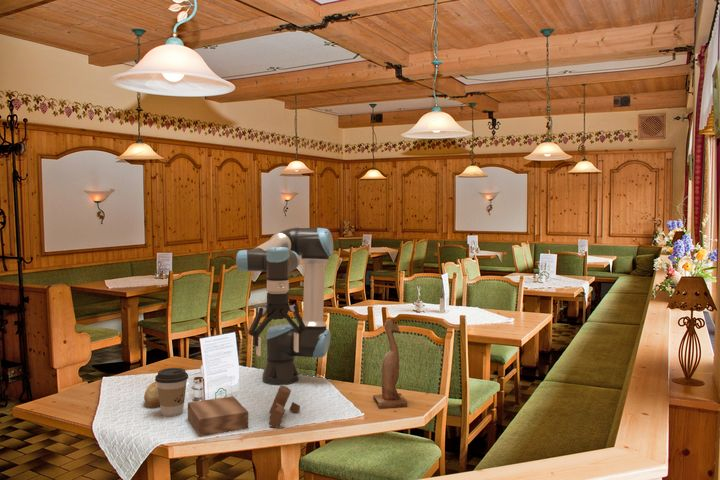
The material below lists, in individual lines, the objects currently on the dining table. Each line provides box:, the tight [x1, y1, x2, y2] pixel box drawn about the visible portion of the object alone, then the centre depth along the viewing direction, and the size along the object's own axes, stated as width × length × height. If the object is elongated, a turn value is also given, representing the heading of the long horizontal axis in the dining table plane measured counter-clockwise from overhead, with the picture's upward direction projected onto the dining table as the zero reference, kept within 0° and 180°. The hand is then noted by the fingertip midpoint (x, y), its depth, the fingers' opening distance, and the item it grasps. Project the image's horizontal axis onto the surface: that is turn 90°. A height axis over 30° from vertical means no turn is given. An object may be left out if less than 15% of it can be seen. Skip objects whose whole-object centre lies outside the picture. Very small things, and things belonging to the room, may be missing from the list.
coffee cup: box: [154, 367, 189, 417], centre depth 210 cm, size 11×11×15 cm
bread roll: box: [143, 381, 160, 409], centre depth 222 cm, size 10×15×8 cm, turn 177°
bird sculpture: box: [372, 318, 408, 409], centre depth 222 cm, size 11×12×32 cm
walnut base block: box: [187, 395, 249, 438], centre depth 201 cm, size 16×18×6 cm
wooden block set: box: [268, 385, 301, 429], centre depth 206 cm, size 18×9×10 cm, turn 166°
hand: (277, 353), depth 205 cm, fingers open, 13 cm apart
